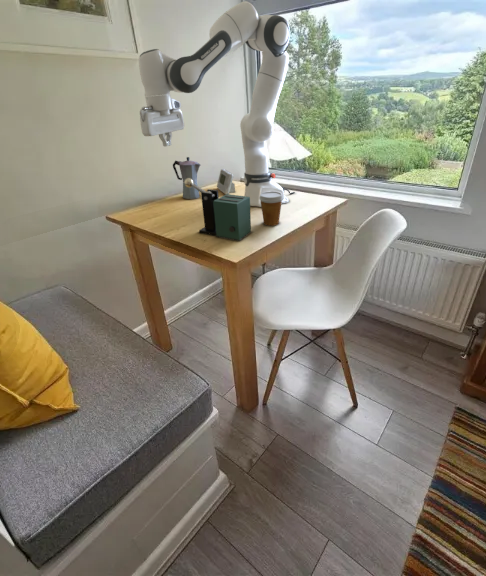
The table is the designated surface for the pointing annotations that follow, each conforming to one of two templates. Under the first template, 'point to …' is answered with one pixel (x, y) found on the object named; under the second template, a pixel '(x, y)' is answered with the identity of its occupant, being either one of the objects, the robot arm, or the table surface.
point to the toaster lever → (195, 186)
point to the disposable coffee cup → (271, 207)
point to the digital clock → (226, 182)
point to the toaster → (232, 217)
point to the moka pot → (188, 171)
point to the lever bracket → (209, 212)
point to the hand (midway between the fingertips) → (167, 145)
